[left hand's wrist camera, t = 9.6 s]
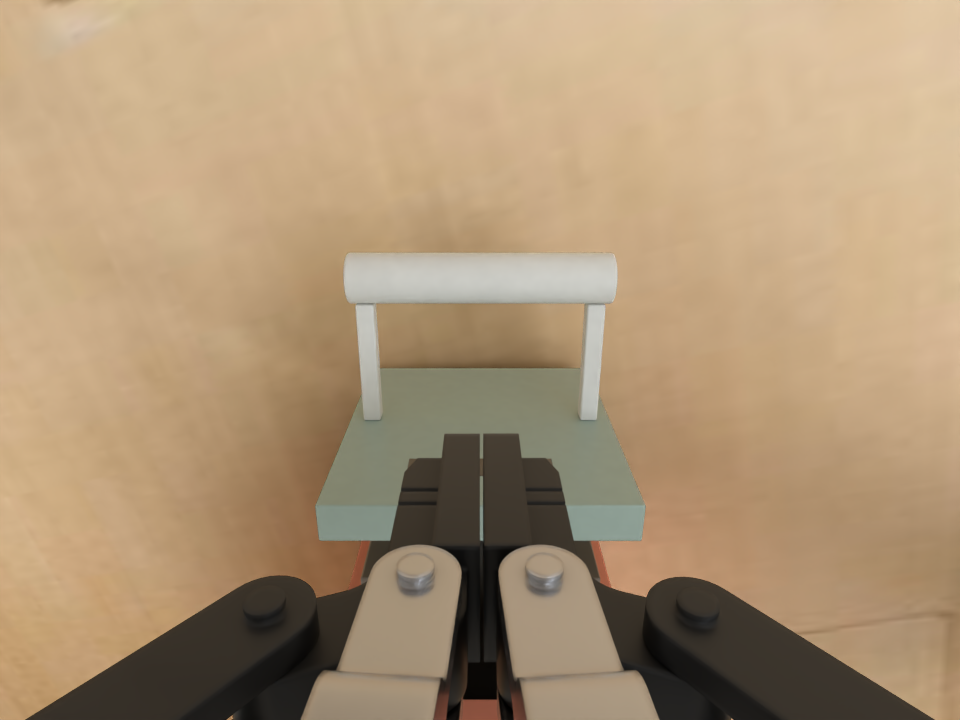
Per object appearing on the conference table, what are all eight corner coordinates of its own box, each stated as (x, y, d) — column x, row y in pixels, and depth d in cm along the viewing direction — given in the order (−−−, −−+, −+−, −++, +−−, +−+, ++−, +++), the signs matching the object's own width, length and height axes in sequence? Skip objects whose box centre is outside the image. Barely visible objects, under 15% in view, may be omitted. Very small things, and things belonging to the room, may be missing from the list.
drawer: (362, 227, 24) (290, 300, 15) (597, 227, 24) (670, 300, 15) (394, 702, 33) (362, 926, 24) (565, 702, 33) (597, 926, 24)
